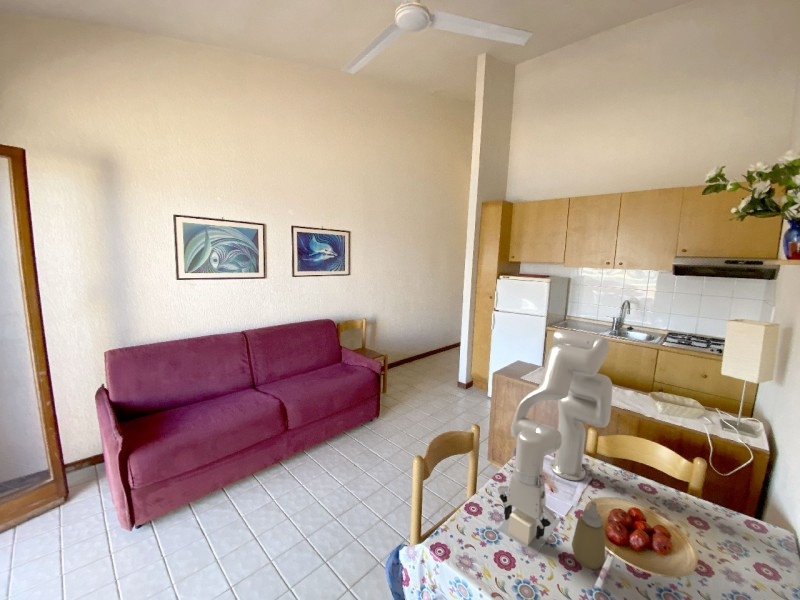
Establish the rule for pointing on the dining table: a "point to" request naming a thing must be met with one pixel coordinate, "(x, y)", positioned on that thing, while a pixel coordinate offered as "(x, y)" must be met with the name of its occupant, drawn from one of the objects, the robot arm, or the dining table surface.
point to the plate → (535, 543)
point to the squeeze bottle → (589, 539)
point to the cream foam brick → (522, 526)
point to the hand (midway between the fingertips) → (523, 526)
